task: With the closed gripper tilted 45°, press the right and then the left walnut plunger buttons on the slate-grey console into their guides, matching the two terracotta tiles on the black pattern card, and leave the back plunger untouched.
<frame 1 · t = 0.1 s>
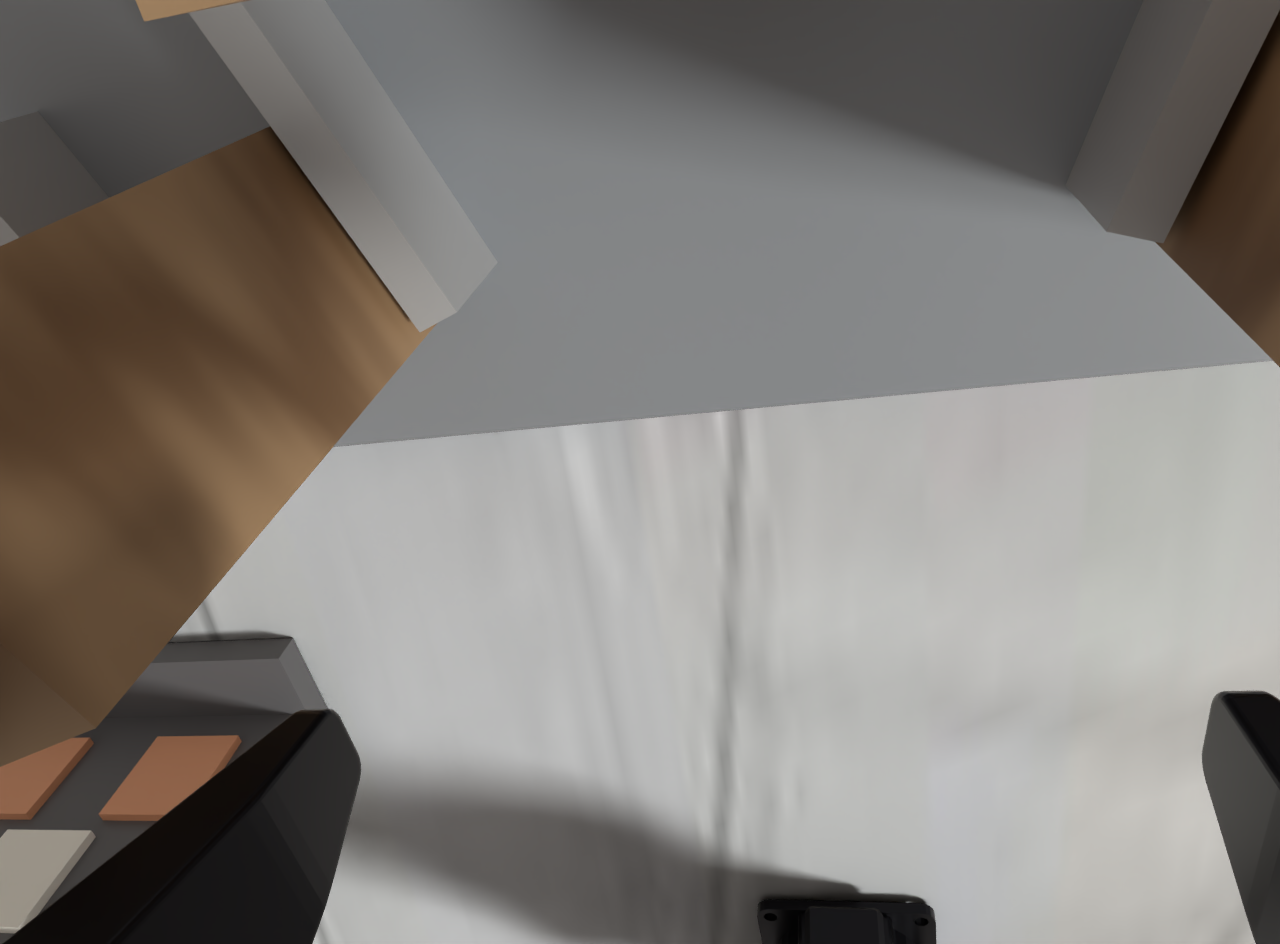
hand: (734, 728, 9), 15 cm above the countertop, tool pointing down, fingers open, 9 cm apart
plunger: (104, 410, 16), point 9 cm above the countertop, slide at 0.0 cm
pattern card: (168, 704, 34), on the countertop
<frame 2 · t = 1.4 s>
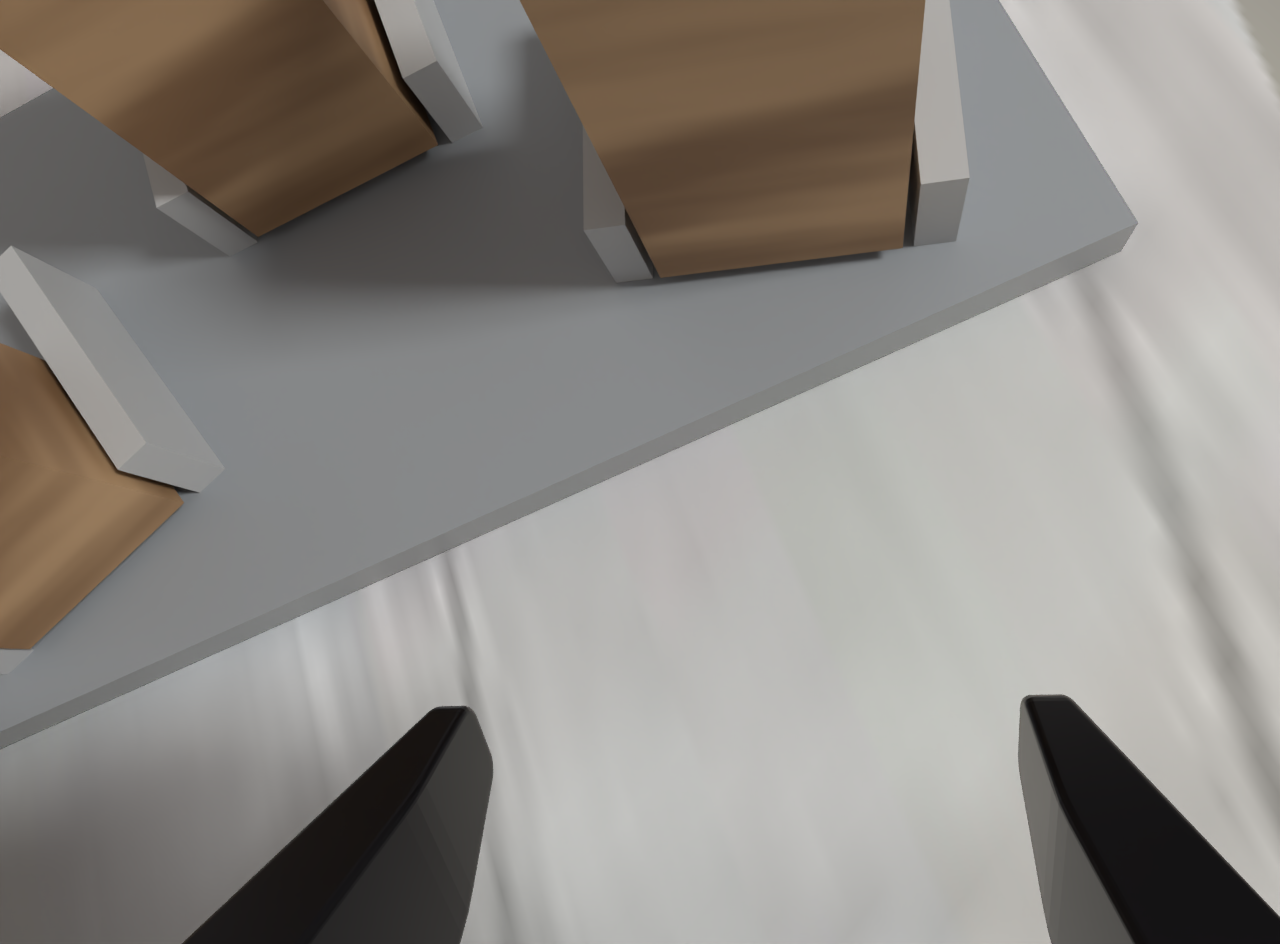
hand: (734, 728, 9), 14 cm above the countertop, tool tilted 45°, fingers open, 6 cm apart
console: (385, 237, 28), on the countertop
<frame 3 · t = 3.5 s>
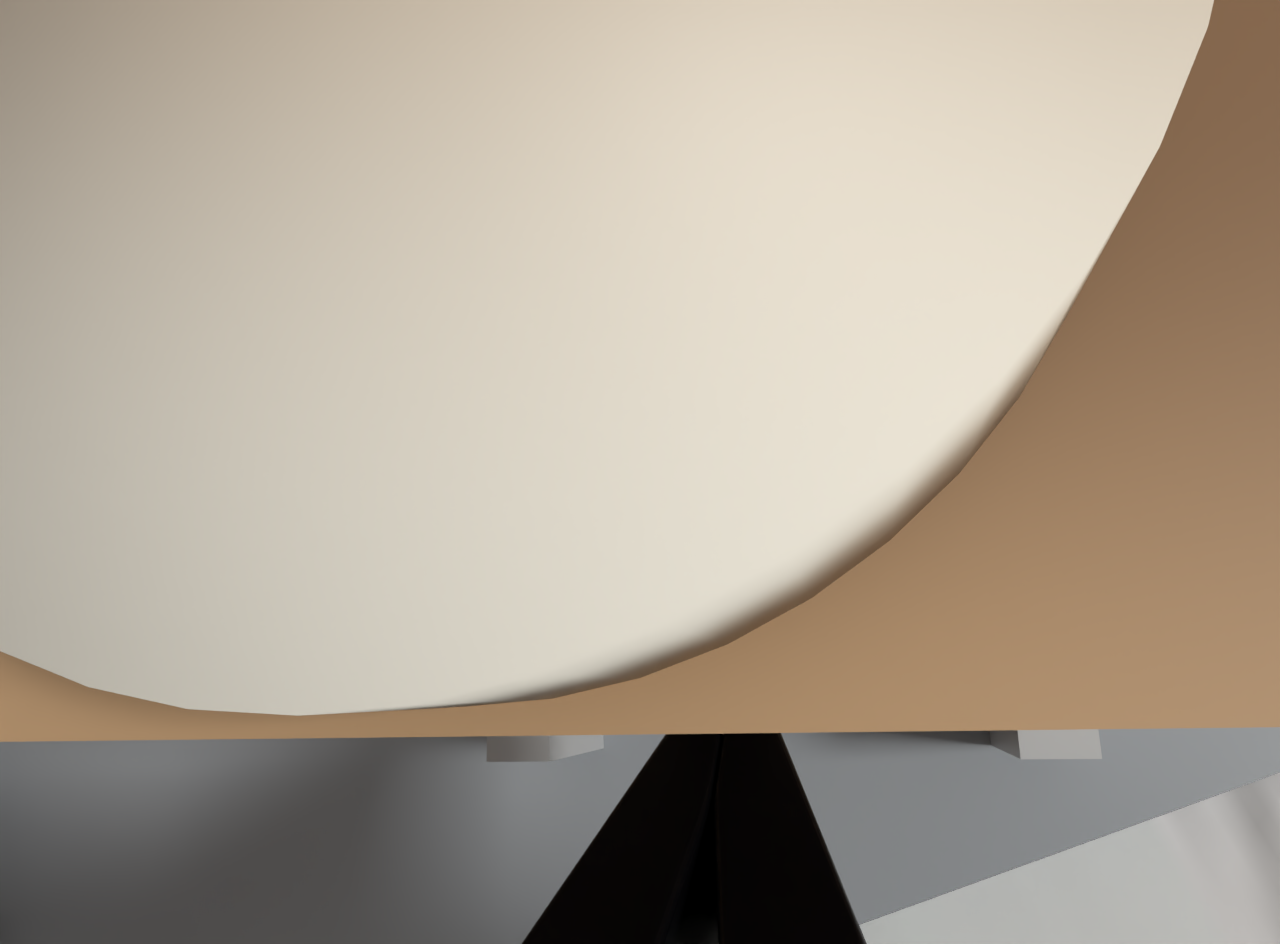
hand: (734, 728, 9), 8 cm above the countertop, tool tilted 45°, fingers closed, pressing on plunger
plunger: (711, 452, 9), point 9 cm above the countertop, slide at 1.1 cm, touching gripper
console: (247, 600, 21), on the countertop
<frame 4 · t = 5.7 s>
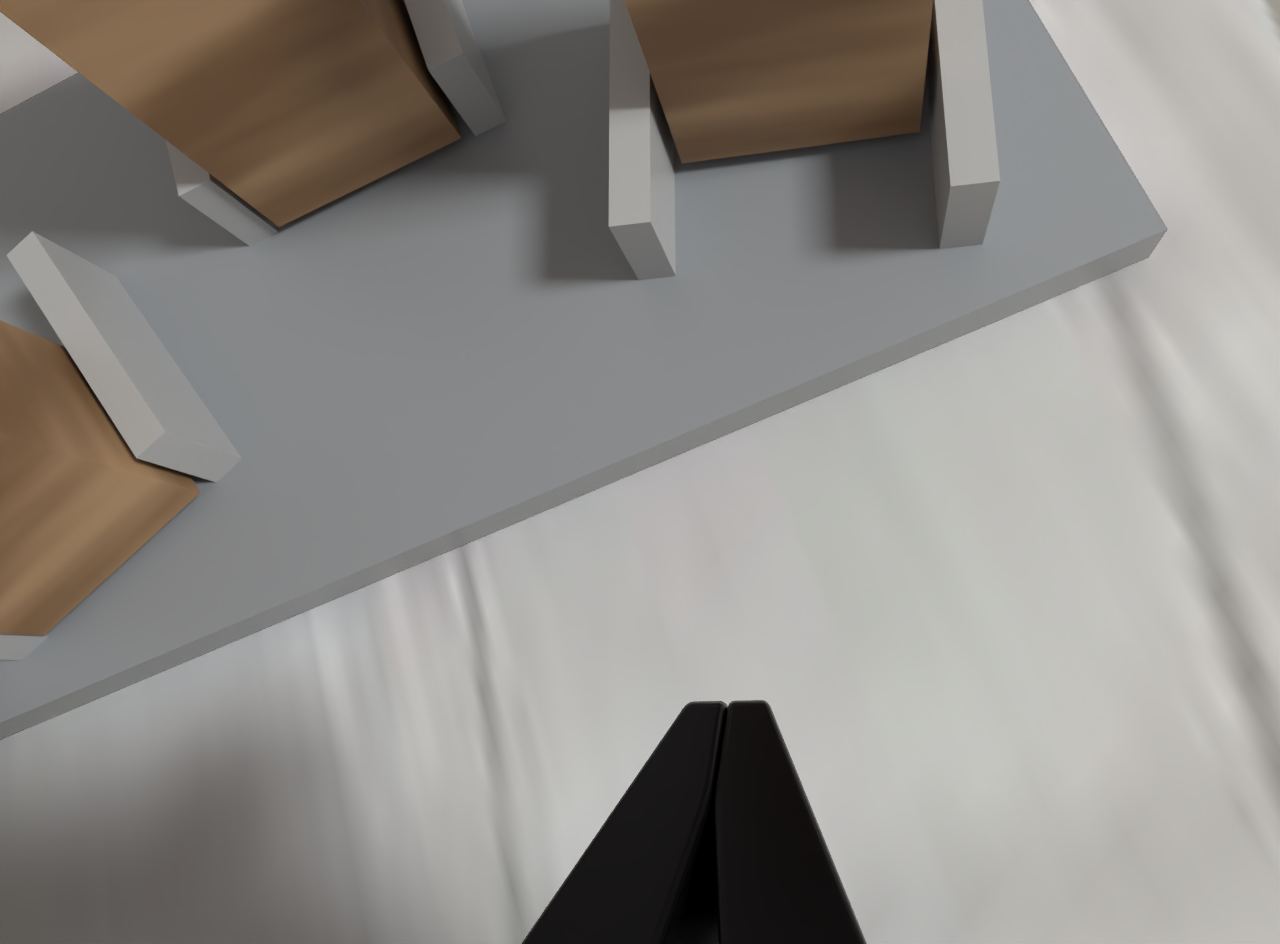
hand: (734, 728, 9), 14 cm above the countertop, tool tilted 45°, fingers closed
console: (406, 230, 28), on the countertop
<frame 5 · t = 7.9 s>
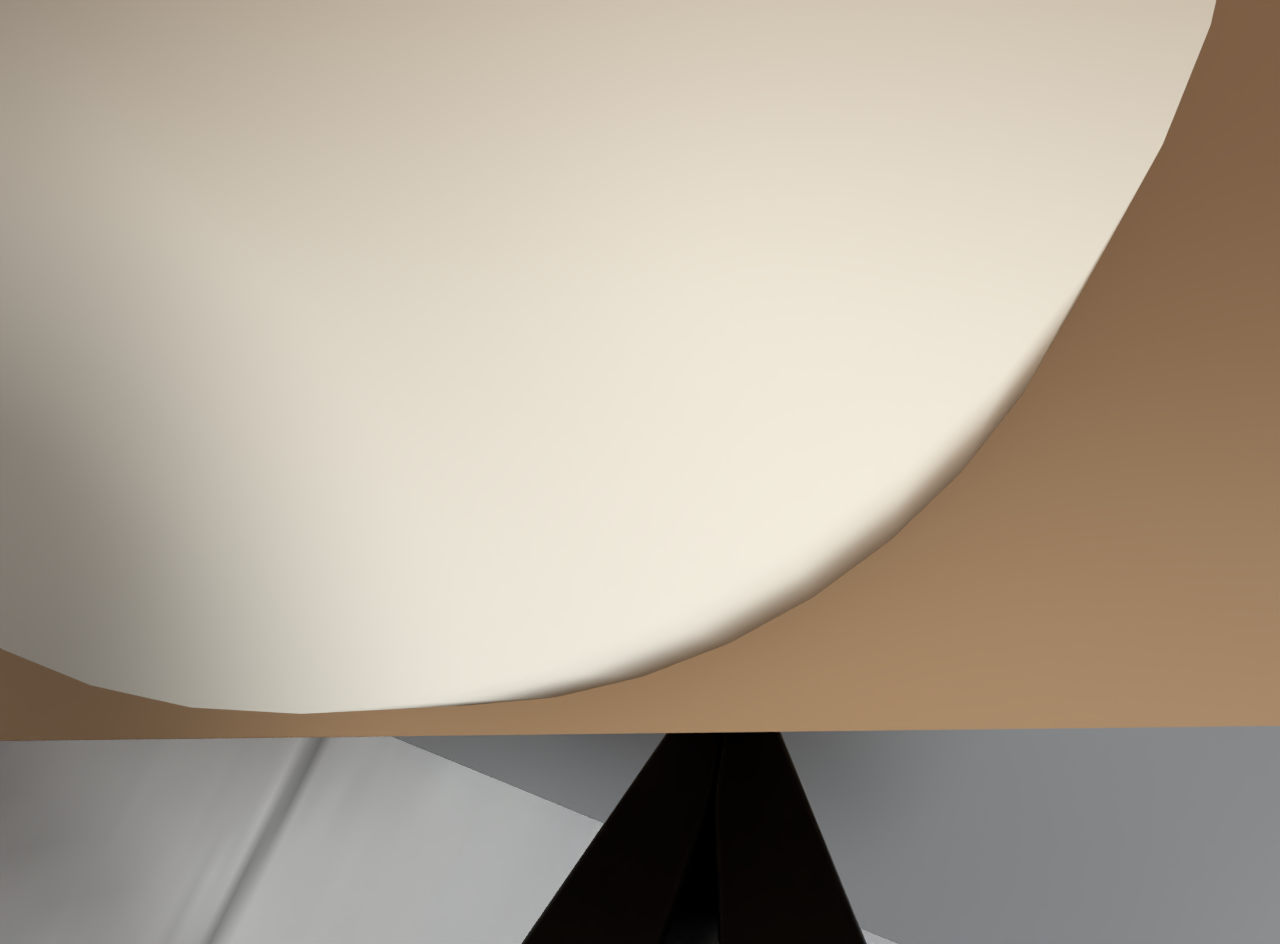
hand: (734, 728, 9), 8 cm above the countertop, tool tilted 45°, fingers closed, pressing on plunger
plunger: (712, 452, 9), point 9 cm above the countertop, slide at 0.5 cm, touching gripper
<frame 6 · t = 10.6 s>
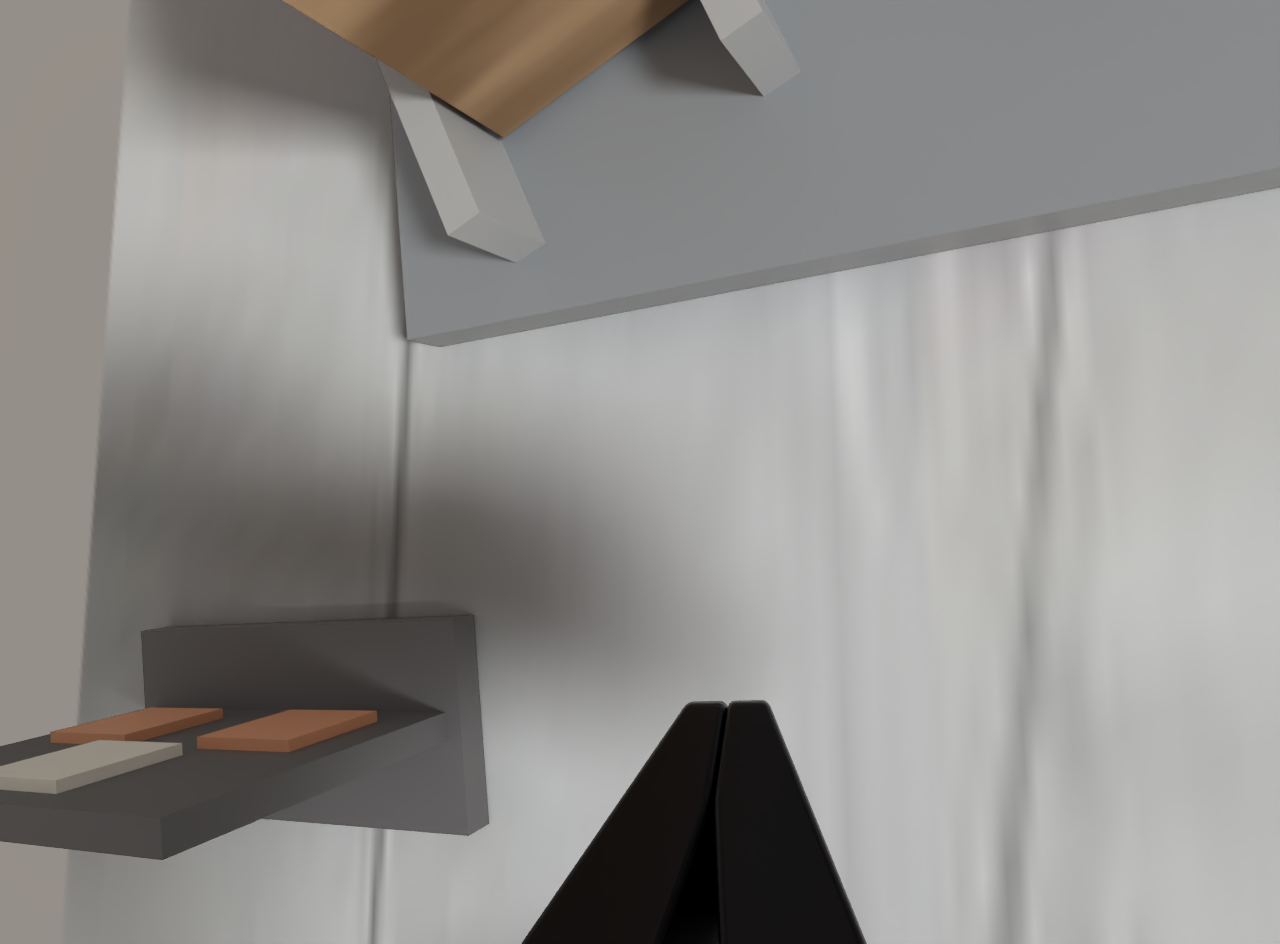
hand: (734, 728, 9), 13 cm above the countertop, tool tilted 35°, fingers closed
pattern card: (312, 715, 29), on the countertop
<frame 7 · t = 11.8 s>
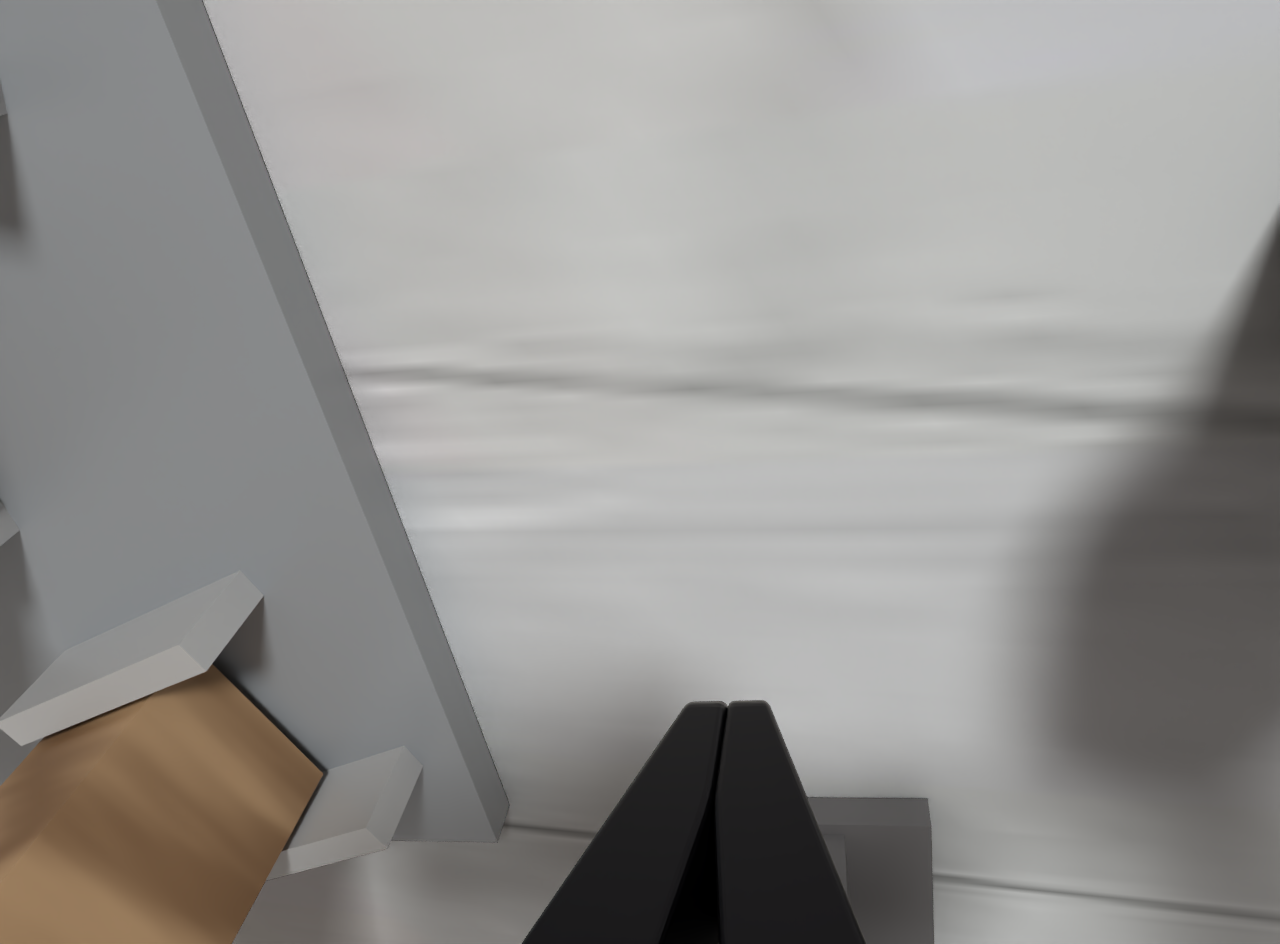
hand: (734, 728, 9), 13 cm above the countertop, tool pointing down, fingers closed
pattern card: (842, 918, 33), on the countertop
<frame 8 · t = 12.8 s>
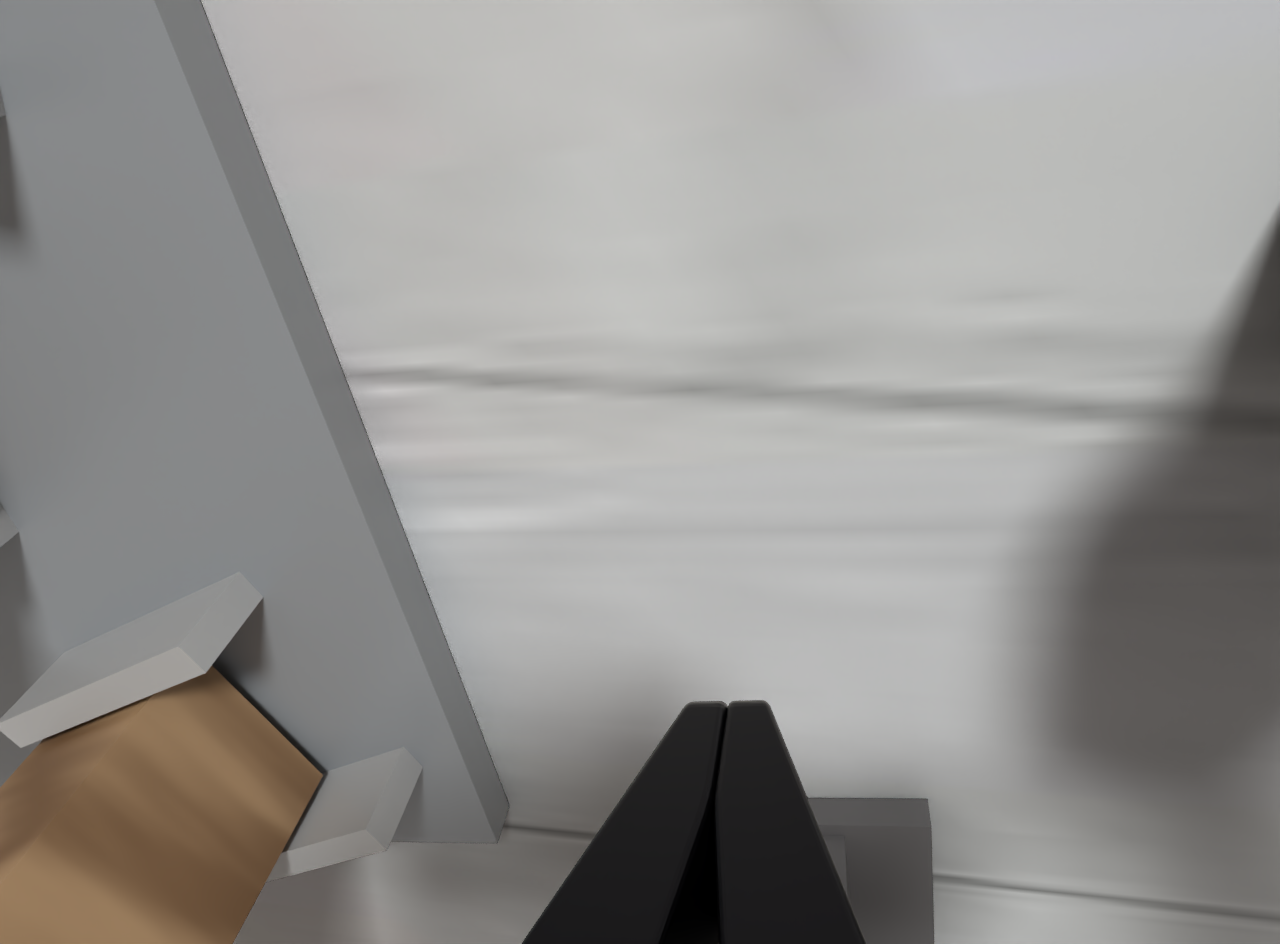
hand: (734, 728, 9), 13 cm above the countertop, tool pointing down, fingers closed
pattern card: (842, 919, 33), on the countertop
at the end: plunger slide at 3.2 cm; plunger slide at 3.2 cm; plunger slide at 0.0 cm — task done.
